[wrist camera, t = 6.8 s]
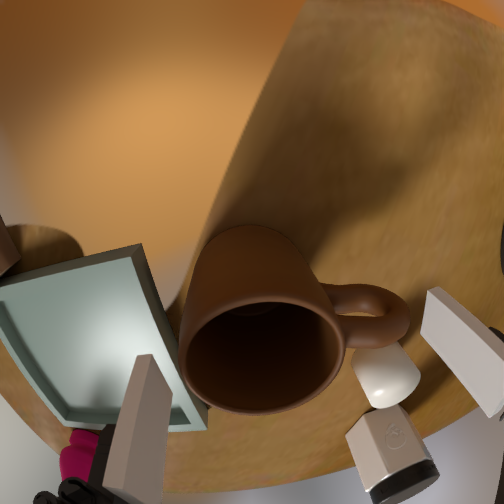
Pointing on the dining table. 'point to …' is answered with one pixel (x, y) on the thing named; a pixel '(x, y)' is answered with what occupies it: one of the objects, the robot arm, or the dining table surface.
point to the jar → (390, 455)
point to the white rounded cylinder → (385, 374)
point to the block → (7, 250)
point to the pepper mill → (78, 455)
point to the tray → (93, 337)
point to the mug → (273, 324)
